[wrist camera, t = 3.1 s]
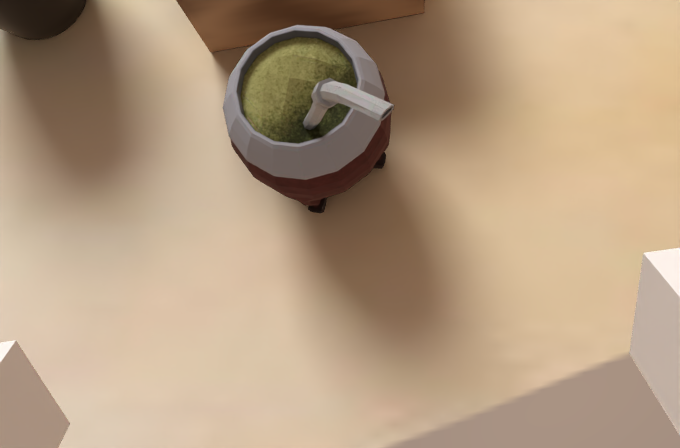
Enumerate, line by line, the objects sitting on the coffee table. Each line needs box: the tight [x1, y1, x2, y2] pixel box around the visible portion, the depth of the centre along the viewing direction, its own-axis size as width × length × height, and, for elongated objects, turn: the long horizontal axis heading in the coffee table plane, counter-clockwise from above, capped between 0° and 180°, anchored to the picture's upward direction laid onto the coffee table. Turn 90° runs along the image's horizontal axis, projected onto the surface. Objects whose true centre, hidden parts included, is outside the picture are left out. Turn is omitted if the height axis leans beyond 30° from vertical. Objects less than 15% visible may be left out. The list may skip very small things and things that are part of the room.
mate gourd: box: [223, 25, 394, 213], centre depth 22 cm, size 8×8×15 cm
